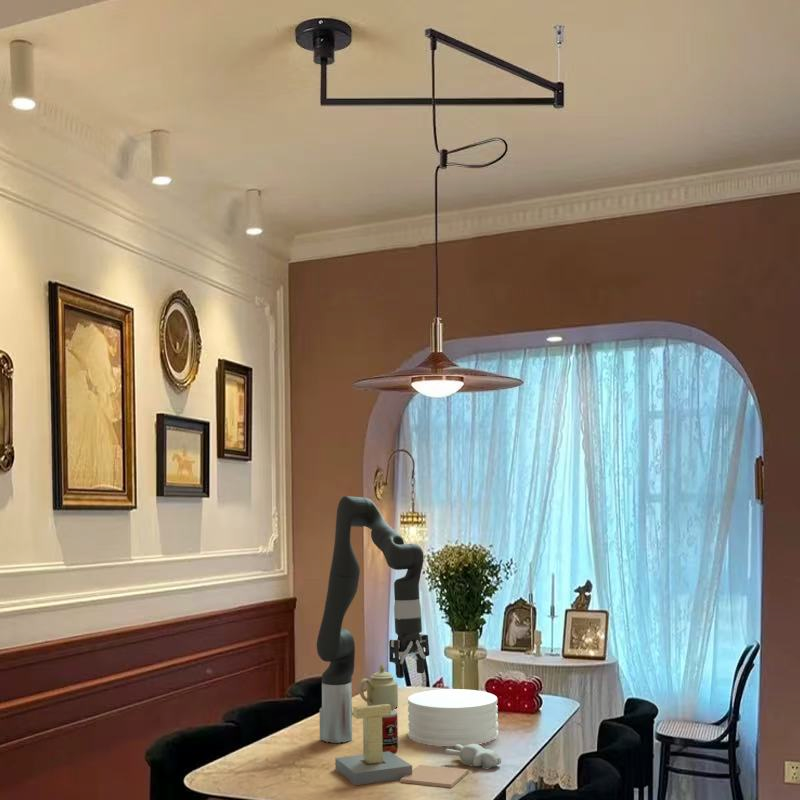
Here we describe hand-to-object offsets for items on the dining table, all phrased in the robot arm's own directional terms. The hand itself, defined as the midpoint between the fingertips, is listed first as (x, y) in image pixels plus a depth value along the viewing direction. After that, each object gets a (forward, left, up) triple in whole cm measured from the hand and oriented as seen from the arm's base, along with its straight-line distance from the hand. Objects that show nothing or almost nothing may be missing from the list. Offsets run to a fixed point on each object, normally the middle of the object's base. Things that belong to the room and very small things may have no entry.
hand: (410, 675), depth 257 cm
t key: (-8, -9, -25) cm, 27 cm away
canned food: (-14, +13, -25) cm, 31 cm away
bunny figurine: (+15, +8, -25) cm, 30 cm away
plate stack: (-1, +37, -25) cm, 44 cm away
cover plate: (-8, -9, -25) cm, 27 cm away
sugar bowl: (-38, +65, -25) cm, 79 cm away
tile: (+9, -7, -25) cm, 27 cm away
